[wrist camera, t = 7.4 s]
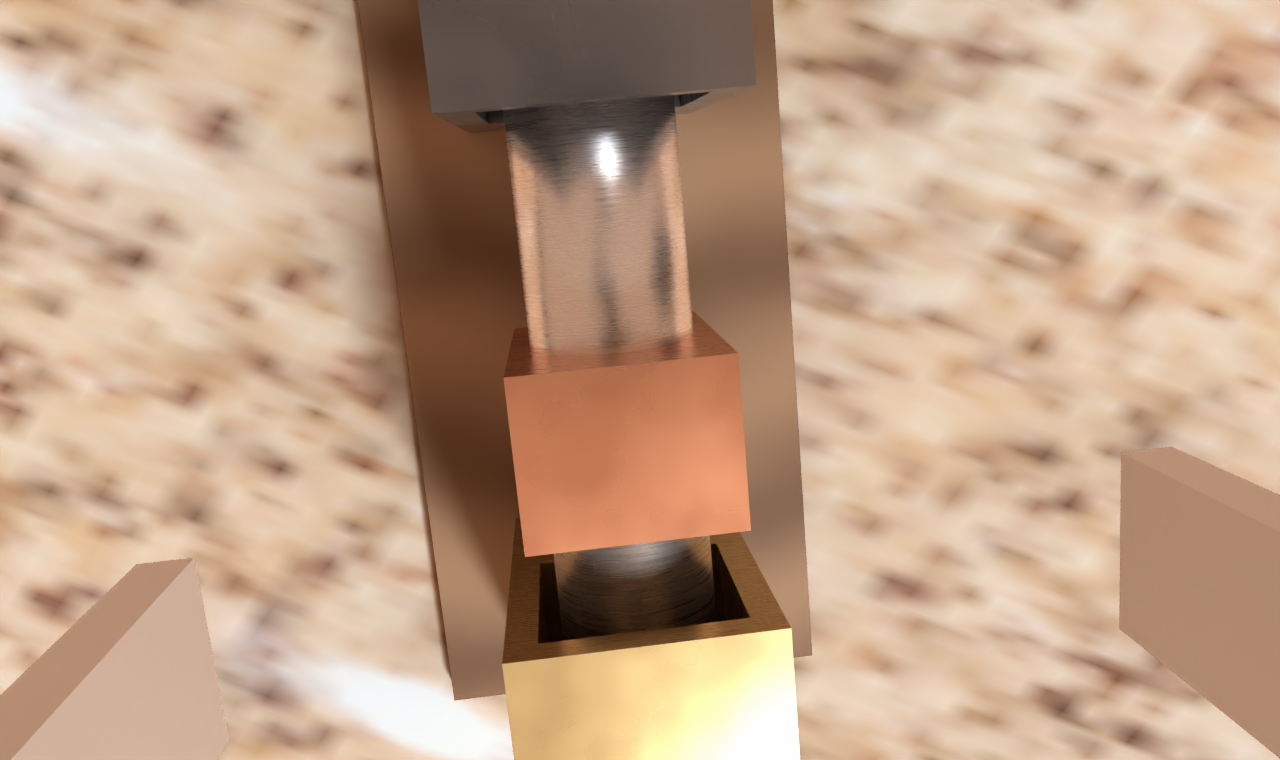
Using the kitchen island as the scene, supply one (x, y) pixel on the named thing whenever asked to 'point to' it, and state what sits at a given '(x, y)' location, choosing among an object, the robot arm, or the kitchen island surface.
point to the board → (494, 306)
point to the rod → (617, 373)
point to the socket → (651, 674)
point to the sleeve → (581, 54)
